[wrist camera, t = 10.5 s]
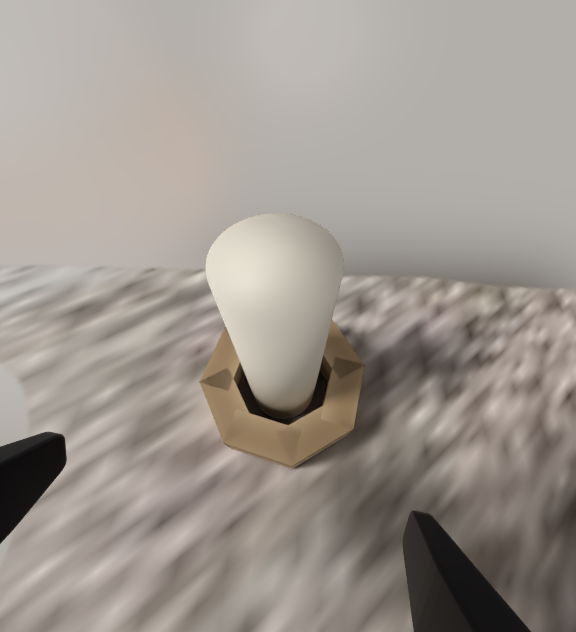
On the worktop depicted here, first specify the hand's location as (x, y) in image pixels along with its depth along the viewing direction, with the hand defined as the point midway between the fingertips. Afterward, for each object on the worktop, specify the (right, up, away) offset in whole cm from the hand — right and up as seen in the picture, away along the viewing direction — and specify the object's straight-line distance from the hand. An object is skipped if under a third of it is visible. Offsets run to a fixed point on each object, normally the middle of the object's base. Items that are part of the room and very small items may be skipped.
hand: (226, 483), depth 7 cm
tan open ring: (+1, -1, +14) cm, 14 cm away
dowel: (+1, -1, +14) cm, 14 cm away
